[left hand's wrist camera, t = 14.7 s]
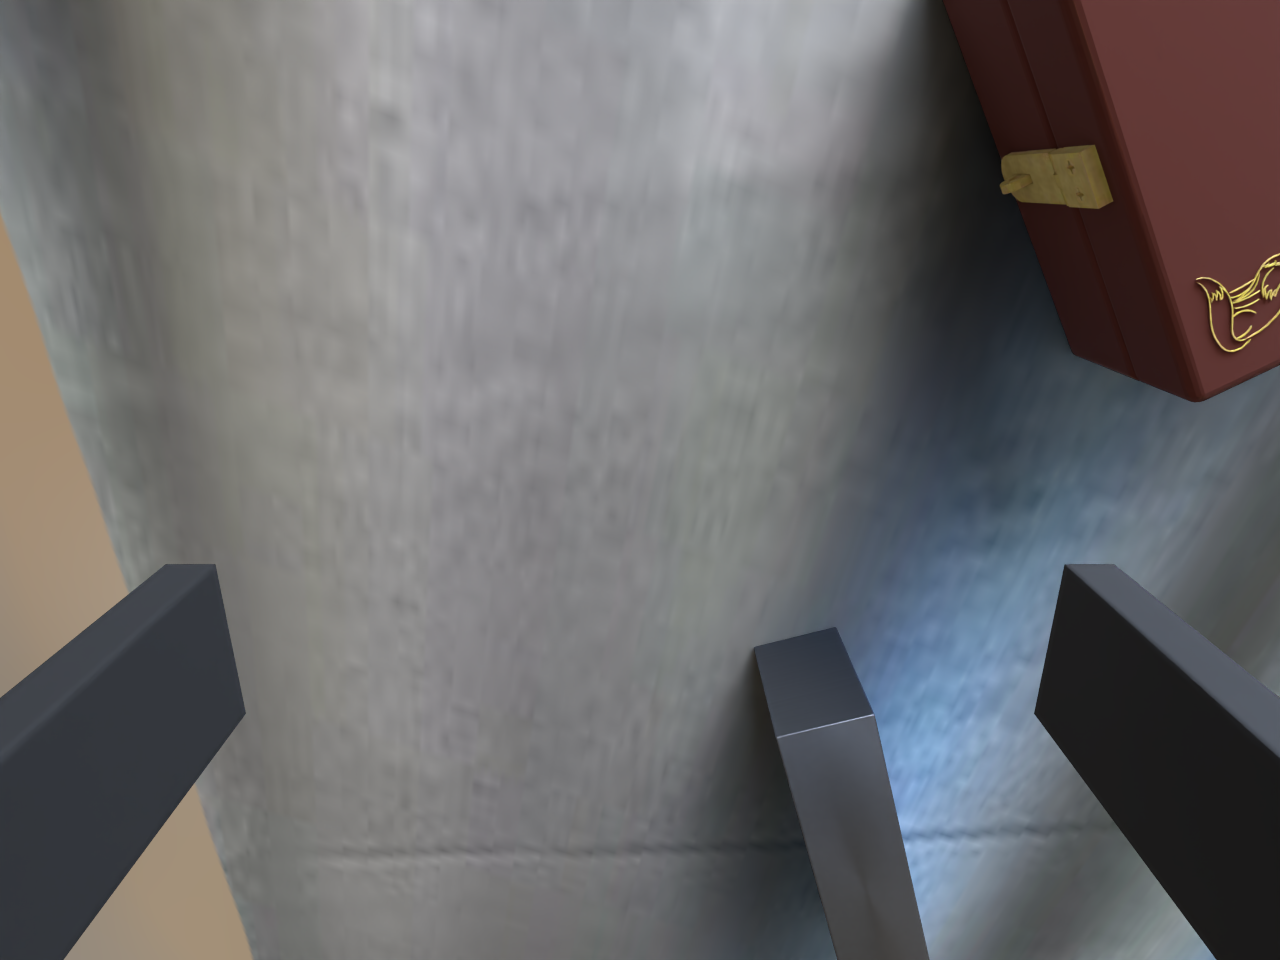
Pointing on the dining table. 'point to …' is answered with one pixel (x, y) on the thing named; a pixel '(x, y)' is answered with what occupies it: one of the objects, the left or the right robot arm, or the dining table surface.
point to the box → (1143, 174)
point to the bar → (842, 797)
